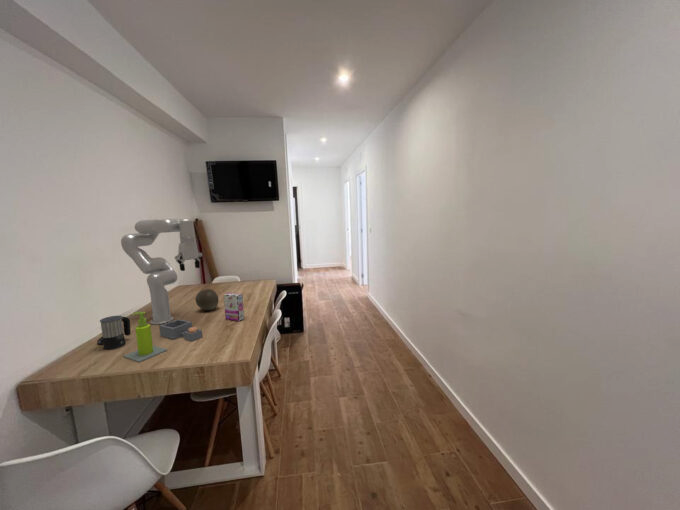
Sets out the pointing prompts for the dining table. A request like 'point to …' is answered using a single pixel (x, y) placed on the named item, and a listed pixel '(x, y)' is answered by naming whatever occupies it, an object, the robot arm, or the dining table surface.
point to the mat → (139, 358)
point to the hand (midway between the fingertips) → (190, 269)
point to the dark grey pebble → (207, 299)
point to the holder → (179, 330)
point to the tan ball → (192, 329)
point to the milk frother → (114, 332)
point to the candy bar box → (234, 306)
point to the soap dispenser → (143, 335)
